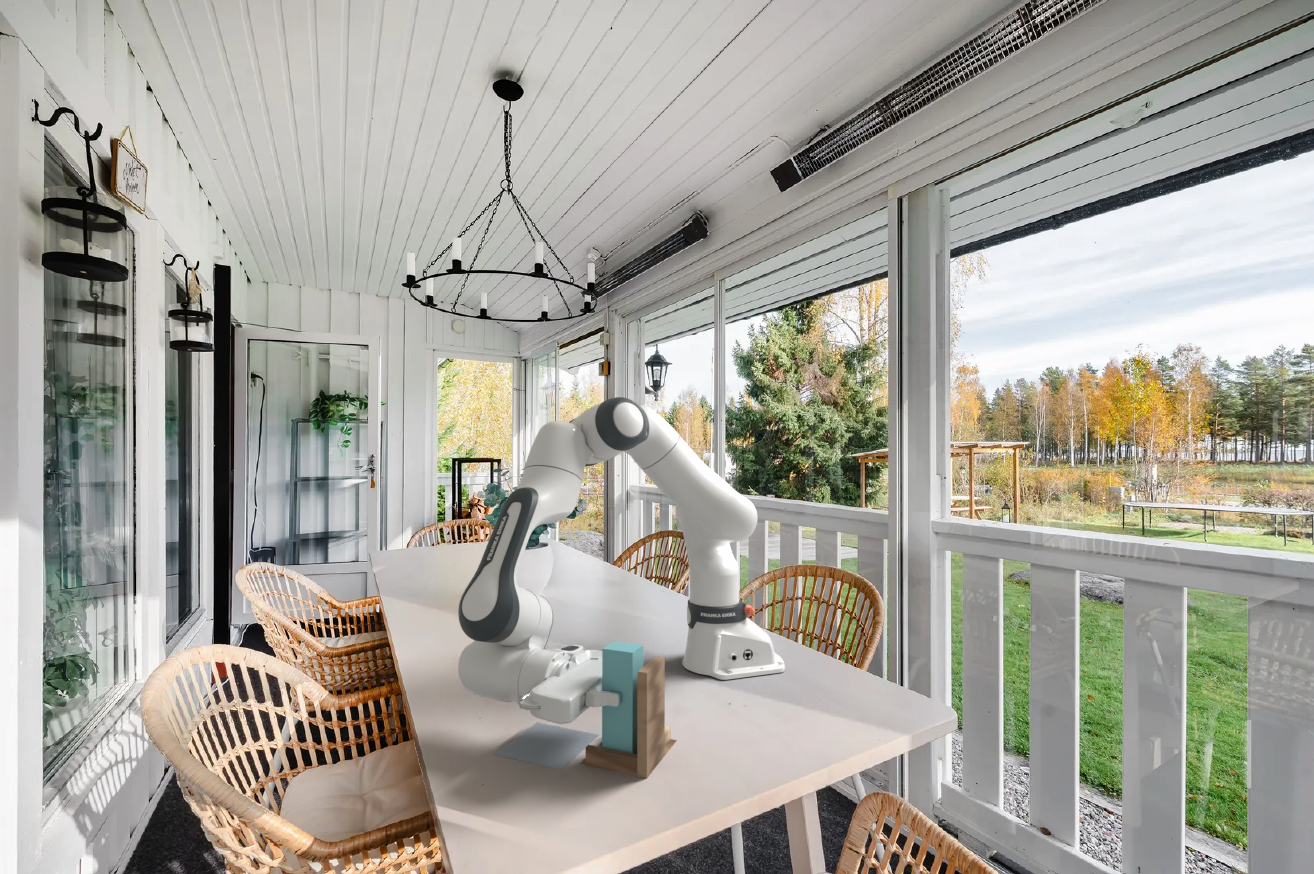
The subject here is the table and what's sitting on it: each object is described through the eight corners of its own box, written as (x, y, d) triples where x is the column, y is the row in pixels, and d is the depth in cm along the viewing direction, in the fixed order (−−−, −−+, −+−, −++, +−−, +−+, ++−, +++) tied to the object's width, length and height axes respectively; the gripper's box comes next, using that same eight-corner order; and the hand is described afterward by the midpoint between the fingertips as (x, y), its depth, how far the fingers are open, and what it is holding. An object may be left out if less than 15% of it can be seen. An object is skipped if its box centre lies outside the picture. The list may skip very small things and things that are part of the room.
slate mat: (536, 728, 107) (536, 722, 107) (599, 740, 103) (599, 734, 103) (493, 760, 96) (494, 754, 96) (561, 776, 91) (561, 769, 91)
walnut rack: (615, 734, 105) (615, 639, 105) (676, 746, 101) (676, 646, 101) (579, 770, 93) (579, 662, 93) (646, 785, 89) (647, 672, 89)
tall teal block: (613, 750, 97) (613, 640, 97) (642, 756, 95) (643, 644, 96) (601, 762, 93) (602, 648, 94) (632, 768, 92) (632, 652, 92)
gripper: (511, 682, 90) (596, 697, 85) (580, 641, 109) (653, 651, 104) (510, 726, 90) (596, 743, 85) (580, 677, 109) (653, 689, 104)
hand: (628, 692), depth 94 cm, fingers closed on tall teal block, 4 cm apart
